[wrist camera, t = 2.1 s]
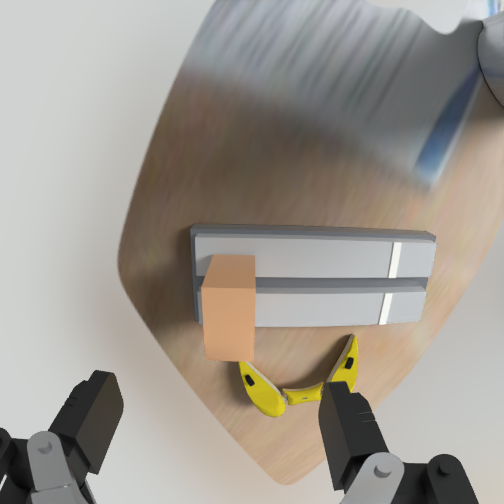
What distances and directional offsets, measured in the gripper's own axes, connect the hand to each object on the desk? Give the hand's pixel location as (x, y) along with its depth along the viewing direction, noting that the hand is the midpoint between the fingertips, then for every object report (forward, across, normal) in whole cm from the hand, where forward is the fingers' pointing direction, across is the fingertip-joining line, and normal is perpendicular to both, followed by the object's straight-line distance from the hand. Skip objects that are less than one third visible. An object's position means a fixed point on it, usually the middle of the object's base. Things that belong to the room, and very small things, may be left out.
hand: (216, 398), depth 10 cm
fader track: (+13, -6, 0) cm, 14 cm away
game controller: (+13, -6, +9) cm, 17 cm away
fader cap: (+11, 0, 0) cm, 11 cm away
